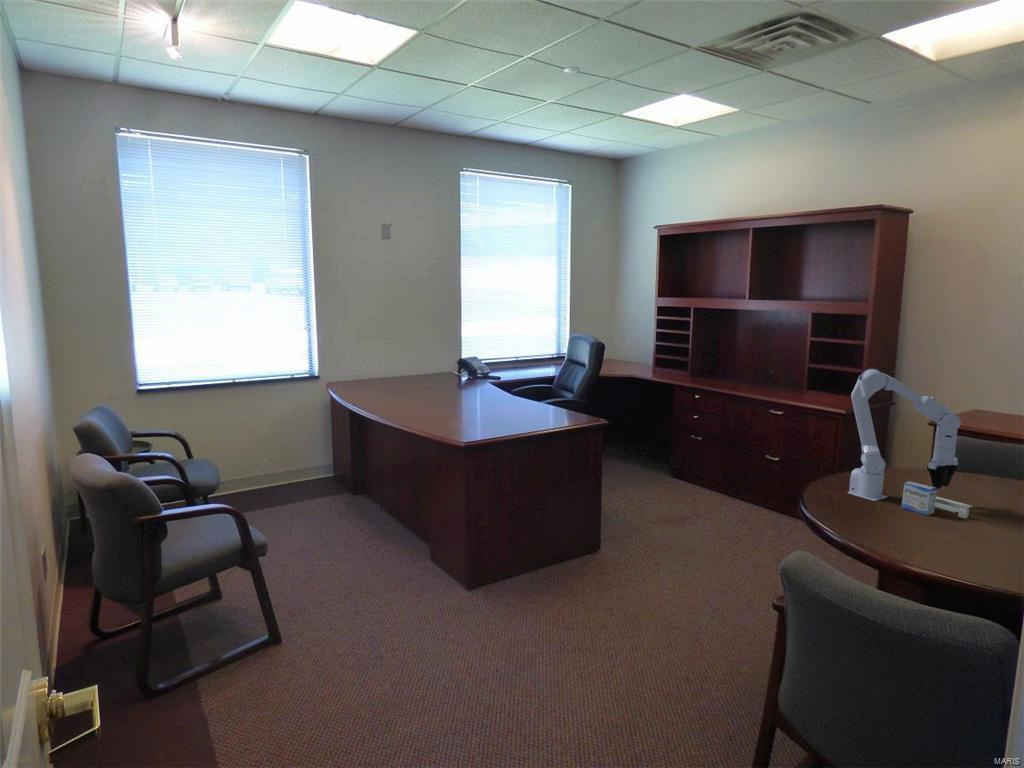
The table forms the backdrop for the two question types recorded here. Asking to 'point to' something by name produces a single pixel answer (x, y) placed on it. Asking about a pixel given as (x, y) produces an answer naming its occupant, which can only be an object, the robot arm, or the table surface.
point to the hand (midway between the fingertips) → (940, 487)
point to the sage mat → (949, 508)
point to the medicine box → (919, 498)
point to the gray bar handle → (963, 513)
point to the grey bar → (952, 504)
